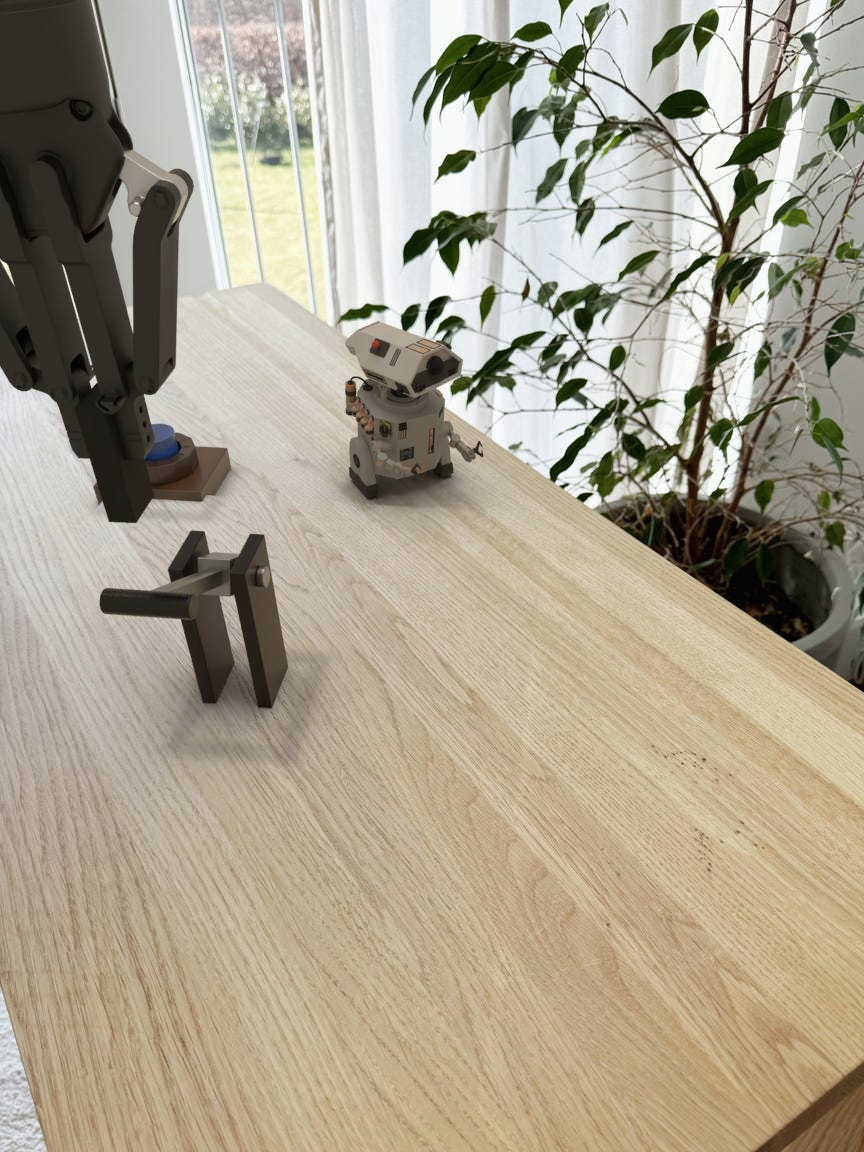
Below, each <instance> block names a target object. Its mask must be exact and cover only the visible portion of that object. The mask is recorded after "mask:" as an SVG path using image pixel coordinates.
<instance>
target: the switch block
mask: <svg viewBox="0 0 864 1152" xmlns="http://www.w3.org/2000/svg"><path fill="white" fill-rule="evenodd" d="M174 432H175V431H174ZM175 436H176V440H177V445H178V449H179V451H178V454H176V455H174V456H172V457H170V458H168V459H164V460H159V461H145V462H146V466H147V470H148V473H149V477H150V481H151V485H152V489H153V492H154V497H153V498H152V500H165V501H166V500H168V501H185V502H186V501H187V502H203V501H204V500H205V498H206V497H207V496H214V497H215V496H216V494H217V493H218V491H219V489H220V487H221V486H222V484H223V482H224V481H225V479H226V477H228V474H229V472H230V470H231V469H232V464H231V459H230V454H229V449H228V447H221V446H219V447H217V446H215V447H214V446H198V445H197V446H196V444H195V442H194V440H193V438H192V437H191V436H188V435H186V434H183V433H181V432H175ZM93 491H94V494H95V497H96V501H97V504H98V506H100V505H101V504H102V503H103V501H102V498H101V495H100V491H99V488H98V485H97V481H96V482H95V483H94V485H93Z"/></svg>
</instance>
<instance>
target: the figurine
mask: <svg viewBox="0 0 864 1152" xmlns="http://www.w3.org/2000/svg"><path fill="white" fill-rule="evenodd" d="M344 345H345V347H346V348H347V349H348V351H349V353H350V354H351V355H353V356H356V359H357V361H358V364H359V367H360V369H361V370H362V372H363V374H364V376H365V377H366V379H364V378H363V377H361V376H359V375H358V376H357V375H356V376H355V375H354V376H351V378H350V379H348V380H346V381H345V383H344V385H345V388H344V394H345V414H346V415H347V416H350V417H353V418H355V421H356V423H357V436H354V437H351V438H350V441H349V446H348V447H349V449H348V450H349V452H348V455H349V467H348V476H349V478H350V479H351V480H352V482H353V484H355V485H356V487H357V488H359V490H360V491H361V493H362V495H365V498H366V499H369V498H372V497H377V496H378V495H380V494H381V492H380V487H379V483H378V482H377V477H376V475H379V476H382V477H386V478H390V479H394V480H399V479H403V478H408V477H412V476H415V477H416V478H417V479H418V480H419V481H420V480H421V479H422V478H423V477H424V476H426V475H425V473H426V472H428V471H431V470H435V472H436V473H437V474H439V476H440V478H444V477H448V476H452V474H455V472H454V471H455V470H454V463H453V462H452V459H451V448H452V449H456V450H457V451H458V452H459V454H460V455H461V457H462V458H463V460H464V461H466V463H472V462H473V461H474V460H475V459H476V457H477V456H476V455H478V456H479V457H480V458H482V459H483V458H484V452H483V450H481V451H480V449H479V448H480V447H481V449H484V446H483V444H482V442H481V441H480V440H478V441H477V444H476V445H475V447H471V446H469V445H467V444H466V443H465V442H464V441H462V440H461V439H462V438H461V435H460V434H459V433H455V431H454V426H453V424H452V422H451V421H450V420H445V410H446V408H445V406H446V399H445V397H444V394H443V393H442V392H441V391H440V389H438V388H440V387H442V386H444V385H446V384H448V383H449V382H452V381H453V380H455V379H457V378H459V377H461V376H462V370H463V365H464V359H463V358H462V357H460V356H459V355H458V354H457V353H455V352H454V351H453V350H452V348H453V346H452V345H451V344H450V343H449V342H446V341H444V340H439V339H436V340H435V341H434V340H431V339H429V338H426V337H423V336H420V335H417V334H415V333H412V332H409V331H407V330H404V329H401V328H399V327H396V326H392V325H391V324H387V323H385V322H383V321H379V320H376V321H375V322H372V323H370V324H367V325H366V326H363V327H360V328H358V329H356V330H355V331H354V332H353V333H352V334H351V335H350V336H349V337H348V338H347V339H346V340H345V343H344ZM354 379H358V380H360V381H362V384H361V385H360V387H359V389H357V382H356V381H355V380H354ZM449 439H450V440H449ZM472 460H473V461H472ZM423 473H424V474H423ZM420 474H422V475H420Z"/></svg>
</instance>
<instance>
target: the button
mask: <svg viewBox="0 0 864 1152" xmlns="http://www.w3.org/2000/svg"><path fill="white" fill-rule="evenodd" d="M151 425H152V429H153V433H154V437H155V440H154V445H153V448H152V449H151V450H150V452H149V453H148V455H147V456H146V458H145V461H159V460H164V459H168V458H170V457H172V456H174V455H176V454H178V451H179V449H178V445H177V440H176V436H175V429H174V427H173V426H171V425H170V424H166V423H151Z"/></svg>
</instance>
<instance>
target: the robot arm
mask: <svg viewBox="0 0 864 1152" xmlns="http://www.w3.org/2000/svg"><path fill="white" fill-rule="evenodd" d="M95 16H96V15H95V12H94V8H93V4H92V0H0V369H1V371H2V373H3V374H4V375H5V377H6V379H7V382H9V384H10V385H11V386H12V387H13V388H14V389H15V390H17V391H20V392H28V391H31V390H35V391H38V392H41V393H43V394H46V395H48V396H49V397H50V399H51V400H52V401H53V402H54V403H56V405H57V407H58V410H59V414H60V417H61V420H62V423H63V426H64V429H65V431H66V436H67V438H68V442H69V446H70V448H71V450H72V452H73V453H74V455H75V456H76V457H77V459H85V460H87V459H88V460H89V462H90V464H91V468H92V471H93V475H94V478H95V481H96V482H97V485H98V488H99V491H100V495H101V498H102V505H103V508H104V511H105V515H106V517H107V521H108V523H121V524H124V523H125V524H137V523H138V522H139V520H140V518H141V517H142V516H143V514H144V513H145V511H146V509H147V508H148V506H149V505H150V503H151V502H152V500H153V499H152V498H153V497H154V492H153V489H152V485H151V481H150V477H149V473H148V470H147V466H146V462H145V458H146V456H147V455H148V453H149V452H150V450H151V449H152V448H153V445H154V440H155V437H154V433H153V429H152V425H151V424H152V422H151V417H150V413H149V410H148V409H149V408H148V406H147V405H148V404H147V402H146V397H145V395H146V396H152V395H153V396H154V395H156V394H157V393H158V391H159V390H160V389H161V387H162V386H163V385H164V384H165V383H166V381H167V379H169V377H170V375H172V373H173V371H174V370H175V369H176V365H177V335H178V334H177V333H178V332H177V331H178V330H177V329H178V293H179V292H178V291H179V290H178V289H179V288H178V287H179V286H178V285H179V250H180V249H179V245H180V244H179V243H180V240H179V239H180V223H181V220H182V219H183V216H184V214H185V212H186V209H187V207H188V205H189V202H190V201H191V197H192V195H193V192H194V189H195V188H194V187H195V185H194V180H193V177H191V175H190V173H188V172H187V171H186V170H184V169H182V168H173V169H171V170H169V171H166V170H165V169H163V168H162V167H160V166H159V165H157V164H155V163H154V162H152V161H151V160H149V159H148V158H146V157H145V156H143V155H141V153H139V152H137V151H136V150H134V143H133V139H132V136H131V134H130V132H129V131H128V128H127V127H126V126H125V125H124V123H123V121H122V120H121V119H120V117H119V115H118V114H117V112H116V110H115V108H114V105H113V101H112V96H111V89H110V79H109V73H108V69H107V65H106V60H105V56H104V51H103V47H102V43H101V38H100V34H99V30H98V25H97V21H96V17H95ZM122 183H123V185H124V186H125V188H126V191H127V201H126V203H127V208H128V212H129V213H130V215H132V216H133V217H137V218H136V222H135V225H134V229H133V233H132V324H131V320H130V316H129V312H128V309H127V304H126V300H125V296H124V292H123V289H122V284H121V281H120V276H119V272H118V268H117V265H116V260H115V257H114V253H113V247H112V244H113V238H114V234H113V233H114V232H113V229H112V223H111V220H110V216H109V214H110V211H111V209H112V207H113V205H114V203H115V200H116V197H117V195H118V193H119V190H120V188H121V186H122ZM3 263H4V264H6V265H7V267H8V269H9V273H10V276H11V277H10V276H9V273H8V272H7V270H6V268H5V265H4V264H3ZM94 377H95V379H96V383H94V385H93V386H92V384H91V380H93V378H94Z"/></svg>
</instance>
